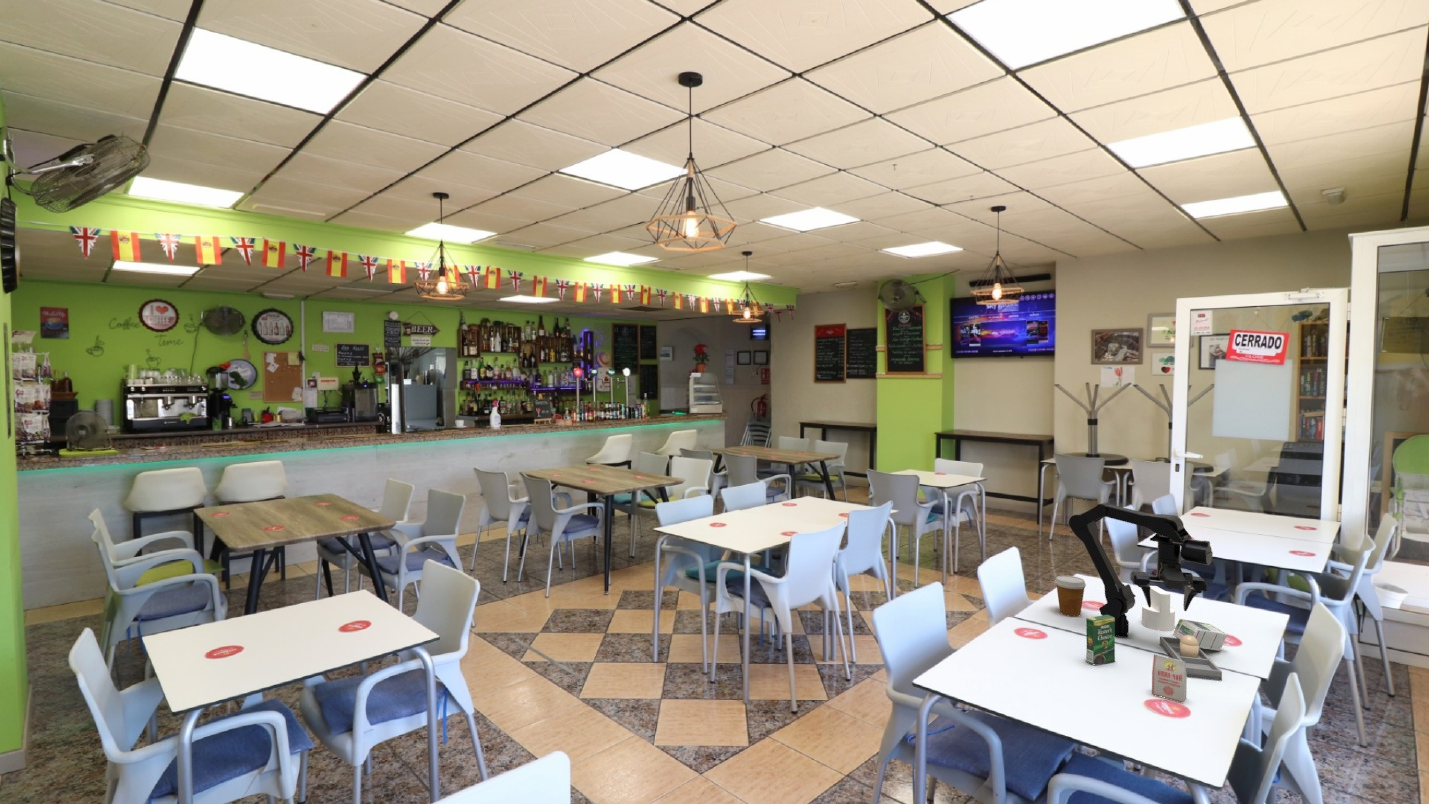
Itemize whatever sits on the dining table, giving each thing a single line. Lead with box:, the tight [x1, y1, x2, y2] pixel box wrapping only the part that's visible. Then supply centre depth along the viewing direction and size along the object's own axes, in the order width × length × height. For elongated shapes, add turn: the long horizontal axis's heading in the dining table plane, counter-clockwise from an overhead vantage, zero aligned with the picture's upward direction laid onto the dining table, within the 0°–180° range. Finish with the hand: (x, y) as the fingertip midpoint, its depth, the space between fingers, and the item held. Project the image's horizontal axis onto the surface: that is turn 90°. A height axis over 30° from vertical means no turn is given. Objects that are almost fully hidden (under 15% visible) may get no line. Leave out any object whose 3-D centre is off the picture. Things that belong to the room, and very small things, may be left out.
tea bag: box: [1151, 653, 1188, 703], centre depth 172 cm, size 4×7×10 cm, turn 45°
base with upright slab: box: [1141, 585, 1176, 632], centre depth 221 cm, size 9×9×12 cm
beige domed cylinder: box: [1180, 635, 1199, 658], centre depth 193 cm, size 4×4×7 cm
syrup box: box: [1172, 618, 1228, 652], centre depth 200 cm, size 6×6×14 cm
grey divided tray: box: [1159, 635, 1223, 681], centre depth 193 cm, size 8×23×2 cm, turn 161°
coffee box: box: [1085, 615, 1116, 665], centre depth 193 cm, size 8×3×13 cm, turn 107°
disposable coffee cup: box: [1054, 575, 1087, 617], centre depth 233 cm, size 10×10×12 cm
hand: (1167, 608), depth 203 cm, fingers open, 9 cm apart
